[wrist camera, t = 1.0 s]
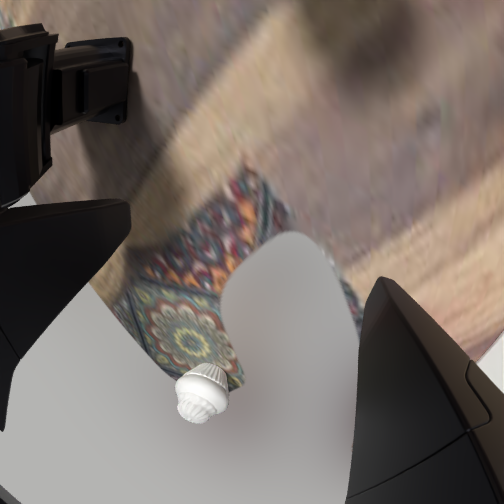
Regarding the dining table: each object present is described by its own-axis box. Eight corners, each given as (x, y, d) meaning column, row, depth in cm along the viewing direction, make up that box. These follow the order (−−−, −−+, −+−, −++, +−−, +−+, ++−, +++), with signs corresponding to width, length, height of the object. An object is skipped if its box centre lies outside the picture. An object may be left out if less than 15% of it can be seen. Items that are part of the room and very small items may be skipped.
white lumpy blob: (179, 360, 36) (152, 407, 30) (209, 347, 32) (180, 401, 27) (216, 390, 37) (195, 436, 32) (250, 381, 34) (228, 434, 28)
